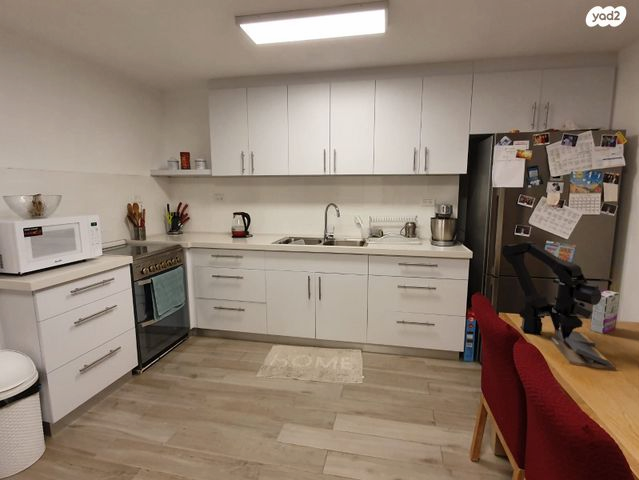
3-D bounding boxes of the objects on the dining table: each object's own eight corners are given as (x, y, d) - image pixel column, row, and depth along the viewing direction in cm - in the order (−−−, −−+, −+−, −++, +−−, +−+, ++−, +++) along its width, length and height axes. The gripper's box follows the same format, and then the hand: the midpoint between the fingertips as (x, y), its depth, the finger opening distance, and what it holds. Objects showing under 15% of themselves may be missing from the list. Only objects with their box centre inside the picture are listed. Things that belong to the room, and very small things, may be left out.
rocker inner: (563, 342, 126) (563, 338, 126) (554, 331, 136) (554, 328, 136) (594, 347, 123) (595, 343, 123) (583, 336, 133) (584, 332, 132)
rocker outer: (575, 351, 116) (577, 348, 115) (564, 339, 125) (566, 336, 125) (607, 365, 113) (609, 361, 113) (594, 351, 123) (596, 348, 122)
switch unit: (569, 363, 117) (569, 357, 116) (548, 337, 137) (549, 332, 137) (615, 370, 112) (615, 363, 112) (586, 342, 133) (587, 336, 133)
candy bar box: (601, 325, 150) (606, 289, 147) (615, 329, 145) (620, 293, 143) (588, 330, 145) (593, 293, 142) (602, 334, 140) (608, 296, 138)
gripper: (602, 307, 117) (596, 348, 120) (580, 291, 135) (575, 328, 137) (565, 303, 121) (560, 343, 123) (548, 288, 138) (544, 324, 141)
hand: (560, 334), depth 131 cm, fingers open, 9 cm apart
